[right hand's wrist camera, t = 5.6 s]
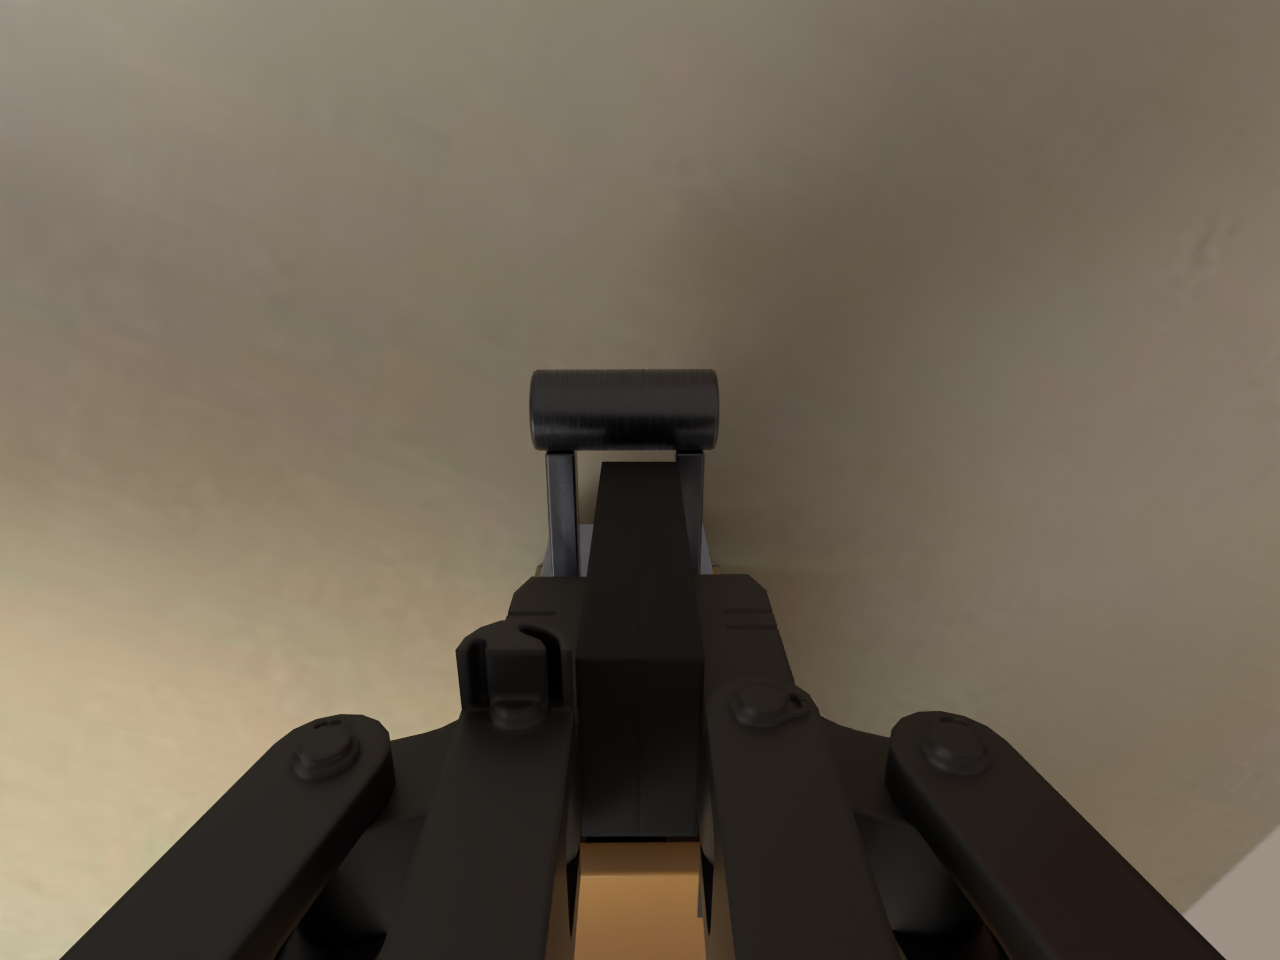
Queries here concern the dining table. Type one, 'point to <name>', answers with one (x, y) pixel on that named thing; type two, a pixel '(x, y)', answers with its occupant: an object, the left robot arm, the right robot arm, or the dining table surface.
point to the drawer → (621, 420)
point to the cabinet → (639, 899)
